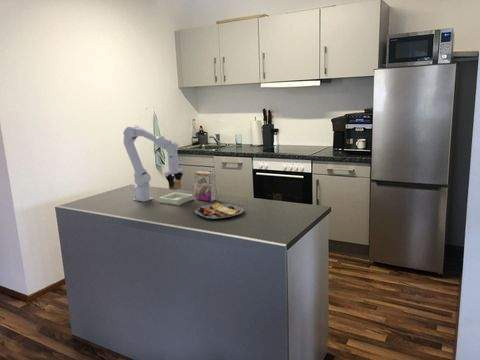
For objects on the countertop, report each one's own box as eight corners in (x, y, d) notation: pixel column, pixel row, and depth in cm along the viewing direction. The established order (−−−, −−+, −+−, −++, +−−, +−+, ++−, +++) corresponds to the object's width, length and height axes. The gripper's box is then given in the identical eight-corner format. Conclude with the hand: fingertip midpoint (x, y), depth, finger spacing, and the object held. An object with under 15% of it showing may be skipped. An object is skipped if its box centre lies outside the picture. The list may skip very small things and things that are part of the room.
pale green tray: (159, 202, 231) (158, 197, 230) (175, 197, 242) (175, 192, 241) (177, 205, 223) (177, 200, 222) (193, 199, 235) (193, 194, 234)
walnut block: (169, 189, 232) (168, 180, 231) (174, 187, 237) (174, 179, 235) (175, 190, 230) (174, 181, 229) (181, 188, 234) (180, 179, 233)
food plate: (186, 213, 208) (186, 206, 207) (222, 204, 222) (222, 198, 222) (215, 225, 189) (215, 218, 188) (251, 215, 204) (251, 208, 203)
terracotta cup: (193, 196, 242) (192, 185, 241) (199, 194, 247) (198, 183, 246) (201, 197, 239) (200, 186, 238) (207, 195, 244) (206, 184, 242)
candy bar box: (195, 199, 234) (194, 172, 231) (200, 197, 238) (199, 170, 235) (211, 201, 228) (209, 173, 225) (216, 199, 233) (214, 172, 229)
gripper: (170, 165, 222) (171, 189, 225) (186, 161, 234) (188, 184, 237) (160, 165, 226) (162, 188, 228) (177, 161, 238) (179, 183, 240)
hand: (174, 186), depth 233 cm, fingers closed on walnut block, 5 cm apart
